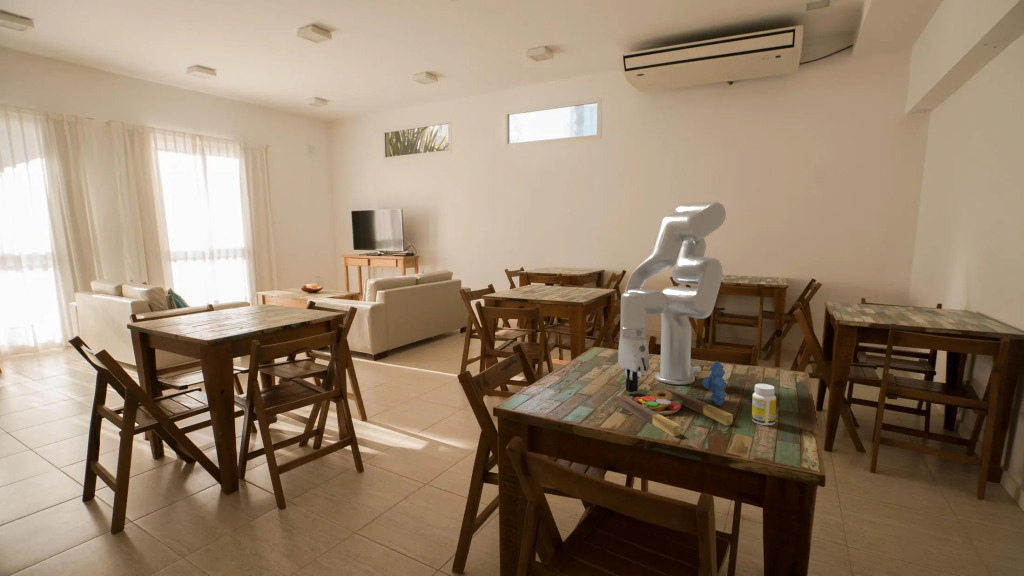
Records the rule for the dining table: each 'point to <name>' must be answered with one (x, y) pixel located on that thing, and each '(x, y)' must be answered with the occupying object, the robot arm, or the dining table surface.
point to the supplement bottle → (764, 404)
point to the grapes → (716, 383)
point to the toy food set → (660, 402)
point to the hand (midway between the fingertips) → (631, 390)
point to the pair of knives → (667, 424)
